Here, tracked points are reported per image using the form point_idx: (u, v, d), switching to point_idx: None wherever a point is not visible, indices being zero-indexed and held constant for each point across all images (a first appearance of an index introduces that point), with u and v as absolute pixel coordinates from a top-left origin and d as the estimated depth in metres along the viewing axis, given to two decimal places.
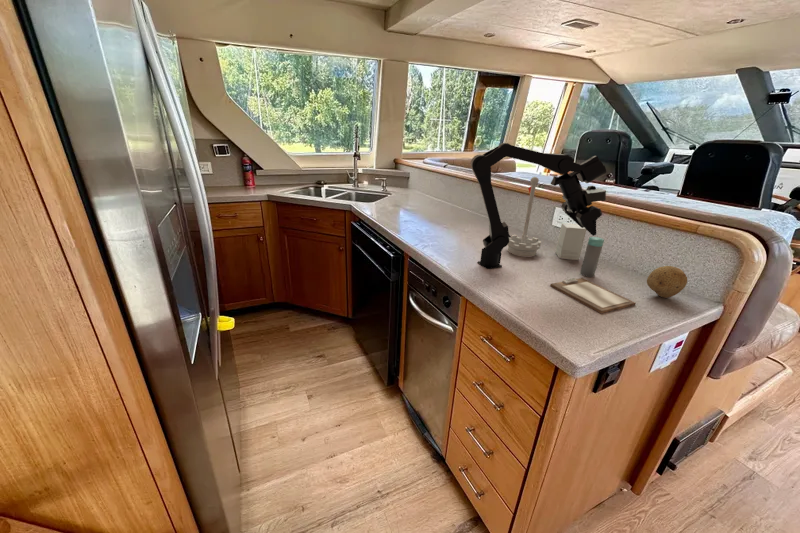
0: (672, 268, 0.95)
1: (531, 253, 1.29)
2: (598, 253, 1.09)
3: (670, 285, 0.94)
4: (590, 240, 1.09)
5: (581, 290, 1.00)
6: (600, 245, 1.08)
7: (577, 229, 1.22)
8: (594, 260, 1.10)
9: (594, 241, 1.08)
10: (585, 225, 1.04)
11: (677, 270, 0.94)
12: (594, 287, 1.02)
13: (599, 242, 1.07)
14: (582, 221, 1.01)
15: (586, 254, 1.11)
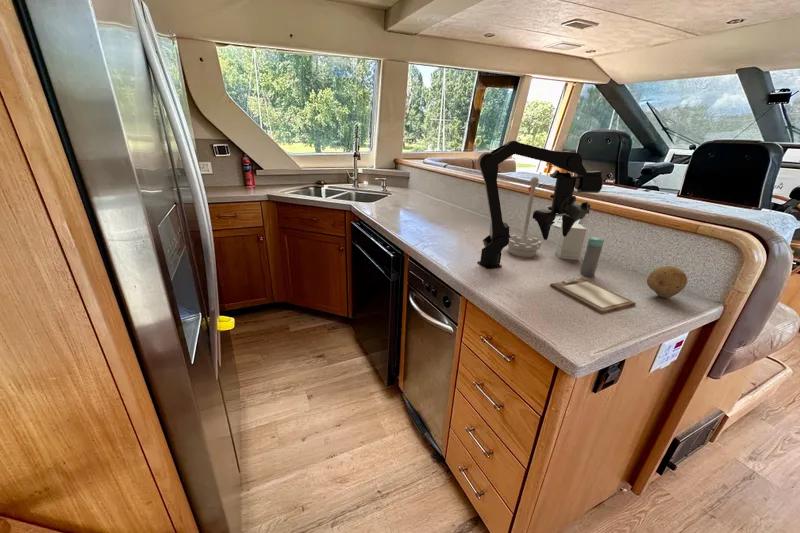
0: (672, 268, 0.95)
1: (531, 253, 1.29)
2: (598, 253, 1.09)
3: (670, 285, 0.94)
4: (590, 240, 1.09)
5: (581, 290, 1.00)
6: (600, 245, 1.08)
7: (577, 229, 1.22)
8: (594, 260, 1.10)
9: (594, 241, 1.08)
10: (539, 223, 1.10)
11: (677, 270, 0.94)
12: (594, 287, 1.02)
13: (599, 242, 1.07)
14: None
15: (586, 254, 1.11)
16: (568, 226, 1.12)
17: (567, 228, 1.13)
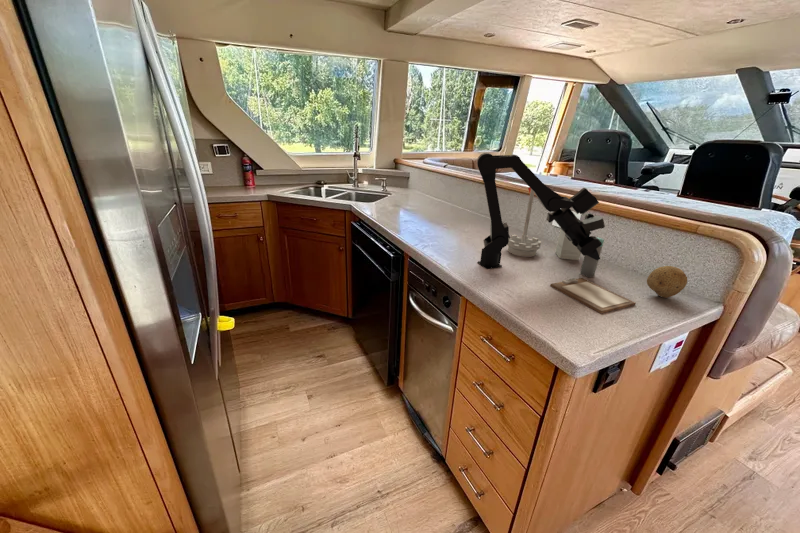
0: (672, 268, 0.95)
1: (531, 253, 1.29)
2: (598, 253, 1.09)
3: (670, 285, 0.94)
4: None
5: (581, 290, 1.00)
6: None
7: None
8: (594, 260, 1.10)
9: None
10: None
11: (677, 270, 0.94)
12: (594, 287, 1.02)
13: None
14: (583, 253, 1.03)
15: None
16: None
17: None
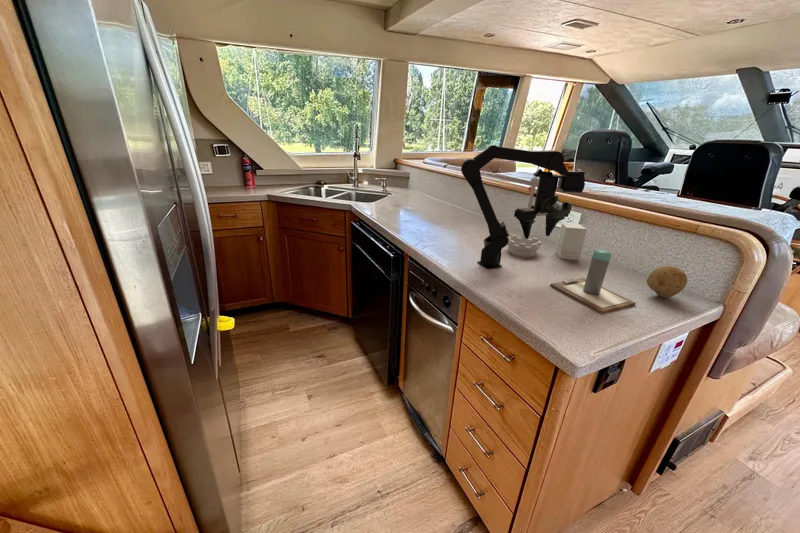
0: (672, 268, 0.95)
1: (531, 253, 1.29)
2: (601, 268, 0.93)
3: (670, 285, 0.94)
4: None
5: (581, 290, 1.00)
6: (603, 259, 0.92)
7: (577, 229, 1.22)
8: (596, 276, 0.94)
9: (596, 253, 0.93)
10: (521, 222, 1.09)
11: (677, 270, 0.94)
12: None
13: (601, 255, 0.92)
14: (514, 213, 1.08)
15: (589, 268, 0.96)
16: (551, 226, 1.12)
17: (550, 228, 1.12)
